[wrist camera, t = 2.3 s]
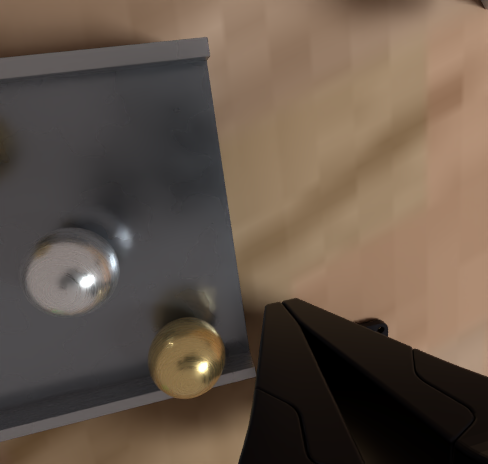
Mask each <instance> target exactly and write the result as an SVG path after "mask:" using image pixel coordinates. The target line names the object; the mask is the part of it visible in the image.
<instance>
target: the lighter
mask: <svg viewBox="0 0 488 464" xmlns="http://www.w3.org/2000/svg"><path fill="white" fill-rule="evenodd" d="M481 2H482V3H483V5H484V7H485V9H488V0H481Z"/></svg>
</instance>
